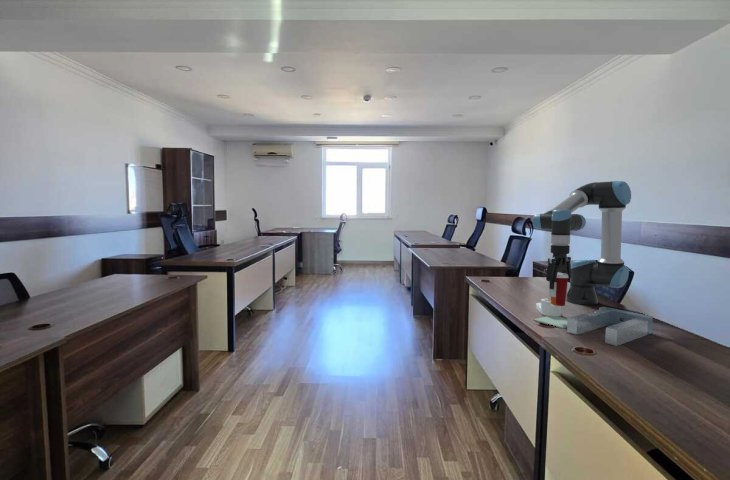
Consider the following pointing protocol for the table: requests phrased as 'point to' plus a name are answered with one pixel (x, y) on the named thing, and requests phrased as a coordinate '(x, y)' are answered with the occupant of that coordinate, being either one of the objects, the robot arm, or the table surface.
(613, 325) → the vise
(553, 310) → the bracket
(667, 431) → the table surface
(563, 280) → the paper cup
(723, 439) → the table surface
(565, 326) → the mat
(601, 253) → the robot arm
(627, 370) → the table surface
